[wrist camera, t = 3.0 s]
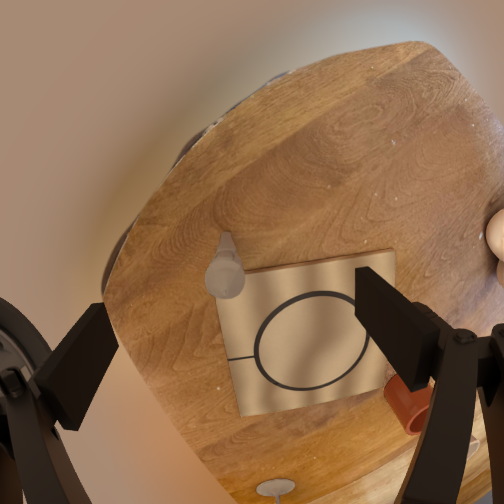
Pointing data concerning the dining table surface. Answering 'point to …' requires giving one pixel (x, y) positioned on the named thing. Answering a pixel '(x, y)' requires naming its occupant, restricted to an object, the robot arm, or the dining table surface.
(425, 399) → the pen pot
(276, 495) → the wineglass
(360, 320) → the robot arm
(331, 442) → the dining table surface
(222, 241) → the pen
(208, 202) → the dining table surface
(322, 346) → the drawing board
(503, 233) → the beige decorative knot
